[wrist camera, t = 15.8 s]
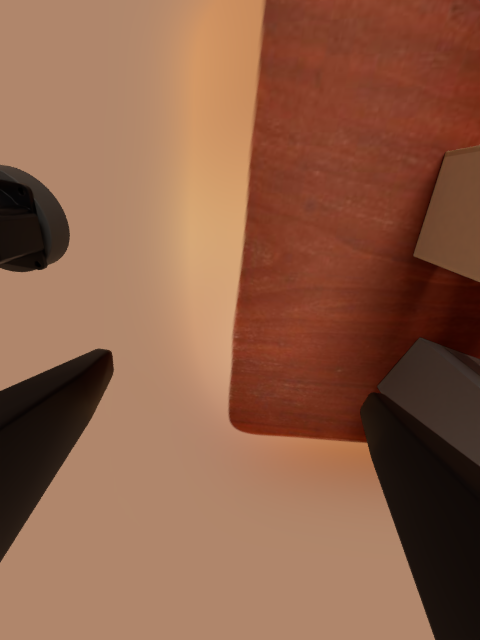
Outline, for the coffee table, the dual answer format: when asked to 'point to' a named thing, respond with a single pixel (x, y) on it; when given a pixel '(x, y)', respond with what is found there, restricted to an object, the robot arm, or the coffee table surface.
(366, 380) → the coffee table surface
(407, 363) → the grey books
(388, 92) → the coffee table surface
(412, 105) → the coffee table surface
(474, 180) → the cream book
